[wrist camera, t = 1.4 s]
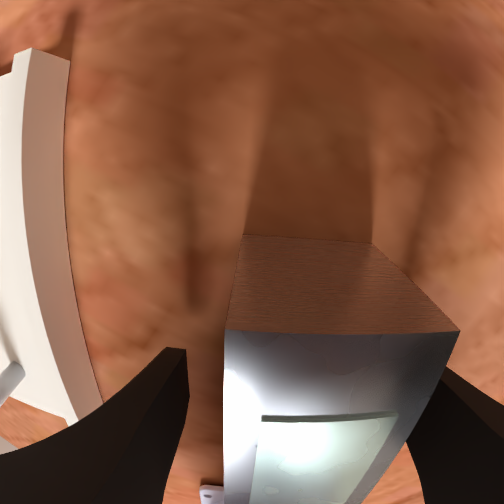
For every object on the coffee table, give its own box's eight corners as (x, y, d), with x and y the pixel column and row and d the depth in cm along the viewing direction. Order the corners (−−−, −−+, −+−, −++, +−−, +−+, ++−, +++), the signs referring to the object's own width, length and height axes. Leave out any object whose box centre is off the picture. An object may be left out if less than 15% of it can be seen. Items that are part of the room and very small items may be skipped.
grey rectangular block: (328, 413, 12) (349, 519, 7) (234, 412, 12) (224, 523, 7) (370, 242, 10) (462, 332, 4) (243, 233, 10) (224, 332, 4)
